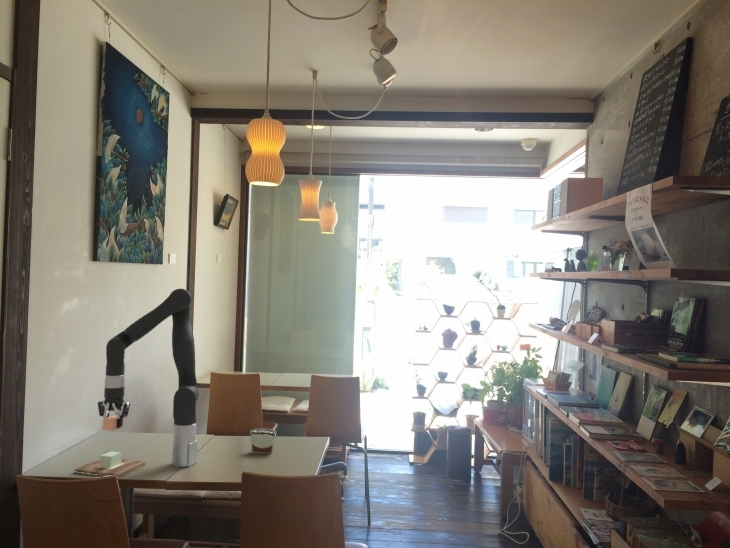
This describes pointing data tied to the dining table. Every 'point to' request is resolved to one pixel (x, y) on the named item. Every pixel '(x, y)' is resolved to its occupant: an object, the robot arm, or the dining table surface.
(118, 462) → the sage green brick
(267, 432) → the food container
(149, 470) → the dining table surface
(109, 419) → the terracotta brick
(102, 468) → the base board
